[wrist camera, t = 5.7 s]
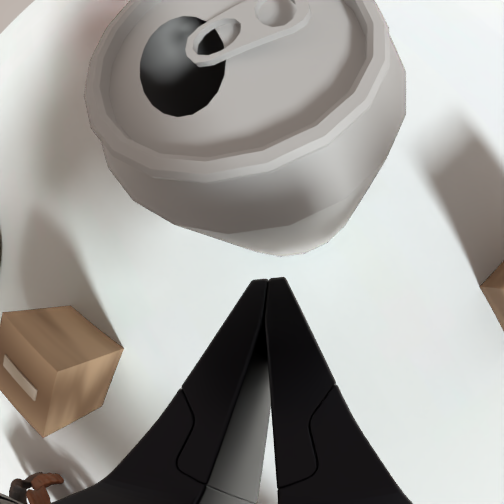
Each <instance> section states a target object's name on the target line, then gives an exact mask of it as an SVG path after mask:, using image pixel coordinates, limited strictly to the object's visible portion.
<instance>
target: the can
mask: <svg viewBox="0 0 504 504" xmlns="http://www.w3.org/2000/svg"><path fill="white" fill-rule="evenodd" d="M84 97H85V102H86V107H87V111H88V116H89V121H90V125H91V129H92V130H93V131H94V133H95V134H96V135H97V137H98V138H99V139H100V141H101V142H102V146H103V150H104V154H105V157H106V161H107V165H108V168H109V169H110V171H111V172H112V173H113V175H114V176H115V177H116V179H117V180H118V181H119V183H120V184H121V185H122V187H123V188H124V189H125V191H126V192H127V193H128V194H129V196H130V197H131V198H132V200H133V201H135V202H137V203H138V204H140V205H142V206H143V207H145V208H147V209H148V210H150V211H152V212H154V213H155V214H157V215H159V216H160V217H162V218H164V219H165V220H167V221H169V222H171V223H172V224H174V225H177V226H180V227H183V228H186V229H189V230H192V231H195V232H198V233H201V234H204V235H207V236H210V237H213V238H216V239H219V240H222V241H225V242H228V243H231V244H234V245H237V246H240V247H243V248H246V249H249V250H252V251H255V252H259V253H264V254H269V255H274V256H280V257H282V256H290V255H298V254H305V253H307V252H309V251H311V250H314V249H316V248H318V247H320V246H322V245H324V244H326V243H328V242H329V241H330V240H331V239H332V238H333V237H334V236H335V235H336V234H337V233H338V232H339V231H340V230H341V229H342V228H343V227H344V226H345V225H346V223H347V222H348V220H349V219H350V217H351V216H352V214H353V212H354V211H355V209H356V208H357V206H358V204H359V203H360V201H361V200H362V198H363V196H364V195H365V193H366V192H367V190H368V188H369V187H370V185H371V183H372V182H373V180H374V178H375V177H376V175H377V174H378V172H379V170H380V169H381V167H382V165H383V163H384V162H385V160H386V158H387V156H388V154H389V152H390V149H391V147H392V145H393V143H394V140H395V138H396V136H397V134H398V131H399V129H400V127H401V124H402V122H403V120H404V117H405V115H406V71H405V69H404V66H403V64H402V61H401V59H400V57H399V54H398V52H397V50H396V48H395V45H394V43H393V41H392V39H391V37H390V34H389V27H388V25H387V23H386V21H385V19H384V17H383V15H382V13H381V11H380V9H379V8H378V6H377V4H376V2H375V0H130V1H129V2H128V4H127V5H126V6H125V7H124V8H123V9H122V10H121V11H120V13H119V14H118V15H117V16H116V17H115V18H114V20H113V21H112V22H111V23H110V24H109V26H108V27H107V28H106V30H105V32H104V34H103V36H102V37H101V39H100V41H99V43H98V45H97V47H96V49H95V51H94V54H93V56H92V58H91V60H90V64H89V69H88V75H87V81H86V87H85V94H84Z"/></svg>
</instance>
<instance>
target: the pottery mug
mask: <svg viewBox="0 0 504 504" xmlns="http://www.w3.org/2000/svg"><path fill="white" fill-rule="evenodd" d="M63 482H64V479H63V478H62V477H61V476H60V475H59V474H56V473H55V474H52V473H47V474H43V473H42V472H39V473H35V474H33V475H31V476H29V477H28V478H26V479H25V480H21V479H15V480H13V481H12V483H11V487H10V490H9V497H10V498H12V499H14V500H16V501H18V502H20V503H22V504H27V501H26V499H27V498H28V500H29V503H30V504H50V503H51V502H50V497H49V495H48V493H47V491H46V487H48V486H50V485H54V484H62V483H63ZM30 487H33V489H34V490H30V489H29V490H28V491H27V490H26V489H28V488H30Z"/></svg>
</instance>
